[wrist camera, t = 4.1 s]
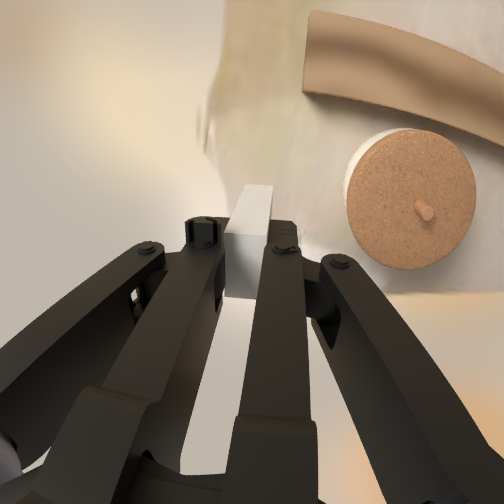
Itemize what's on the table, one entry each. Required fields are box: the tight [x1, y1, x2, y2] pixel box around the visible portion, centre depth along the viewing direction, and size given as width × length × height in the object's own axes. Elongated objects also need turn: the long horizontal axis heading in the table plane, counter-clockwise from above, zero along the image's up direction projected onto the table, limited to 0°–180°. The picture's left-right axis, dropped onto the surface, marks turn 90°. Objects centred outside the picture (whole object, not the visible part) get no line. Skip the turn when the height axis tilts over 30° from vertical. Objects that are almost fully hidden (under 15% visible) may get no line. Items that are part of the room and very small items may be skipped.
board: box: [302, 10, 504, 147], centre depth 19 cm, size 7×32×3 cm, turn 85°
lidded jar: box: [343, 128, 476, 269], centre depth 22 cm, size 11×11×9 cm
